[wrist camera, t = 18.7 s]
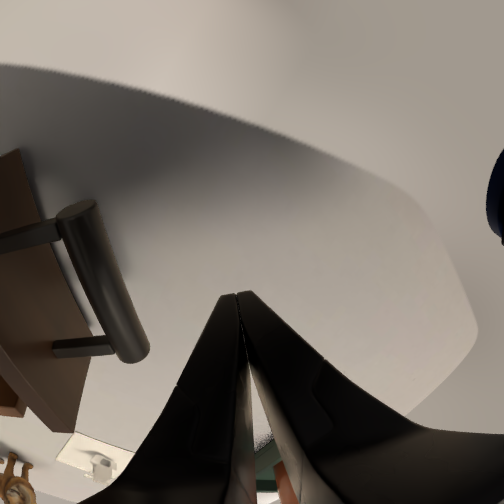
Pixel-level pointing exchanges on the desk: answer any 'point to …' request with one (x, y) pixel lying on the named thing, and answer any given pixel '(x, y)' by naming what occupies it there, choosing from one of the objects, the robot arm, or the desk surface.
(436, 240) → the desk surface
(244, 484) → the robot arm
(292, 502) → the orange cylinder
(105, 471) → the adhesive hook
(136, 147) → the desk surface
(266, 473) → the tray
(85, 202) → the drawer
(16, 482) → the lion figurine
